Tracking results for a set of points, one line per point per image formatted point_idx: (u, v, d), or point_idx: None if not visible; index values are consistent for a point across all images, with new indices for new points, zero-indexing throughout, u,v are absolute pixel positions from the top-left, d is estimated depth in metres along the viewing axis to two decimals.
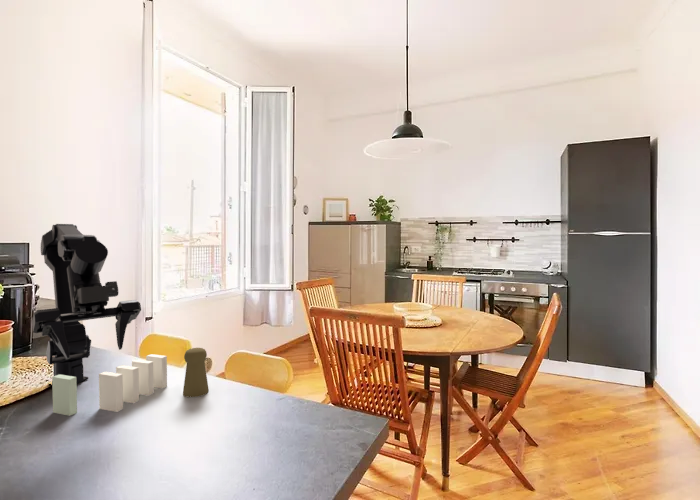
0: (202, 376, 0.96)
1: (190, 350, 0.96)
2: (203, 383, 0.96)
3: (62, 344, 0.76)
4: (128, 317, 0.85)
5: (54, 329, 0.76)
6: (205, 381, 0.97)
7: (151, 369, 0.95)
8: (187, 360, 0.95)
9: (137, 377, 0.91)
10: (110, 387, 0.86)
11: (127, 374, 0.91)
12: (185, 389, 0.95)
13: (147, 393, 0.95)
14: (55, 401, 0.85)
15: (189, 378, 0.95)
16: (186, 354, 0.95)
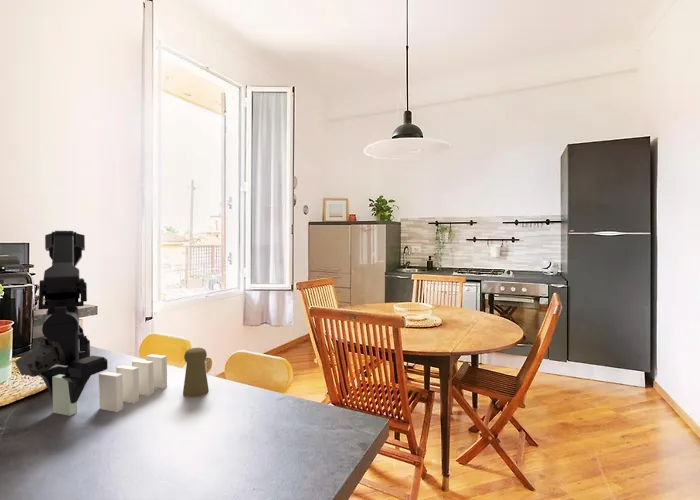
0: (202, 376, 0.96)
1: (190, 350, 0.96)
2: (203, 383, 0.96)
3: (48, 389, 0.85)
4: (70, 380, 0.82)
5: (40, 376, 0.85)
6: (205, 381, 0.97)
7: (151, 369, 0.95)
8: (187, 360, 0.95)
9: (137, 377, 0.91)
10: (109, 387, 0.86)
11: (127, 374, 0.91)
12: (185, 389, 0.95)
13: (147, 393, 0.95)
14: (55, 401, 0.85)
15: (189, 378, 0.95)
16: (186, 354, 0.95)
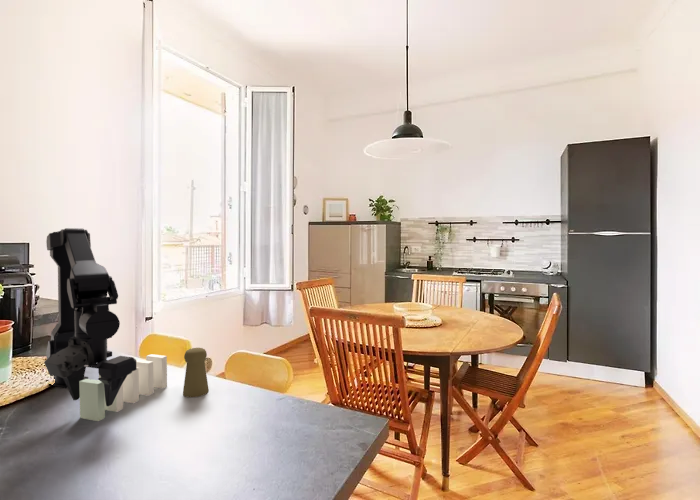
0: (202, 376, 0.96)
1: (190, 350, 0.96)
2: (203, 383, 0.96)
3: (68, 388, 0.84)
4: (106, 382, 0.79)
5: None
6: (205, 381, 0.97)
7: (151, 369, 0.95)
8: (187, 360, 0.95)
9: (137, 377, 0.91)
10: None
11: None
12: (185, 389, 0.95)
13: (147, 393, 0.95)
14: (82, 406, 0.83)
15: (189, 378, 0.95)
16: (186, 354, 0.95)
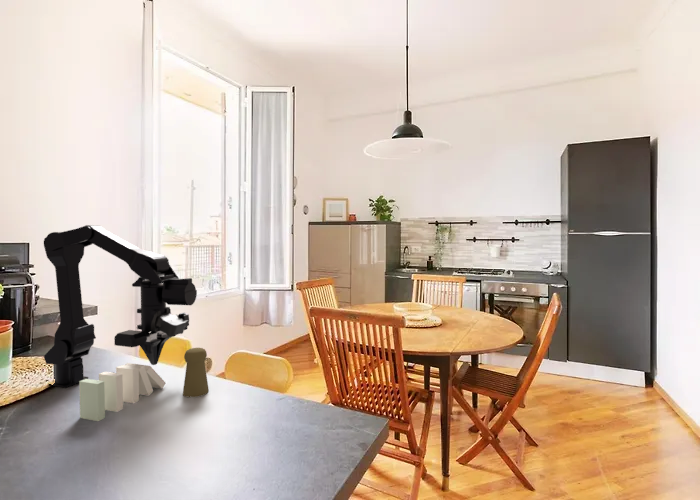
0: (202, 376, 0.96)
1: (190, 350, 0.96)
2: (203, 383, 0.96)
3: (154, 355, 0.98)
4: (167, 339, 1.01)
5: (153, 345, 0.97)
6: (205, 381, 0.97)
7: (144, 372, 0.93)
8: (187, 360, 0.95)
9: (137, 377, 0.91)
10: (109, 387, 0.86)
11: (127, 374, 0.91)
12: (185, 389, 0.95)
13: (146, 393, 0.95)
14: (82, 406, 0.83)
15: (189, 378, 0.95)
16: (186, 354, 0.95)
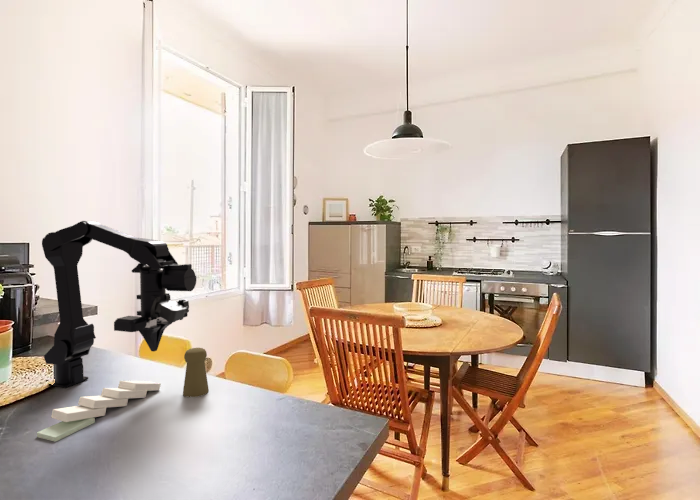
0: (202, 376, 0.96)
1: (190, 350, 0.96)
2: (203, 383, 0.96)
3: (154, 341, 0.98)
4: (167, 326, 1.00)
5: (153, 331, 0.96)
6: (205, 381, 0.97)
7: (125, 393, 0.89)
8: (187, 360, 0.95)
9: (104, 401, 0.84)
10: None
11: None
12: (185, 389, 0.95)
13: None
14: None
15: (189, 378, 0.95)
16: (186, 354, 0.95)
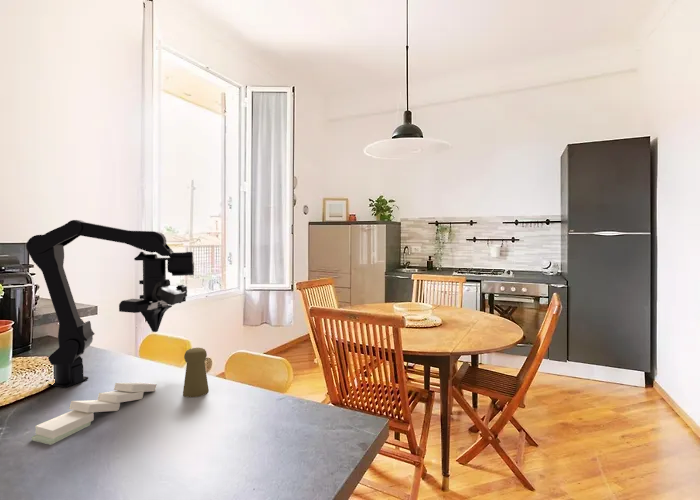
0: (202, 376, 0.96)
1: (190, 350, 0.96)
2: (203, 383, 0.96)
3: (155, 323, 1.07)
4: (167, 309, 1.10)
5: (154, 313, 1.06)
6: (205, 381, 0.97)
7: (123, 397, 0.87)
8: (187, 360, 0.95)
9: (98, 405, 0.82)
10: None
11: None
12: (185, 389, 0.95)
13: (139, 398, 0.93)
14: None
15: (189, 378, 0.95)
16: (186, 354, 0.95)
